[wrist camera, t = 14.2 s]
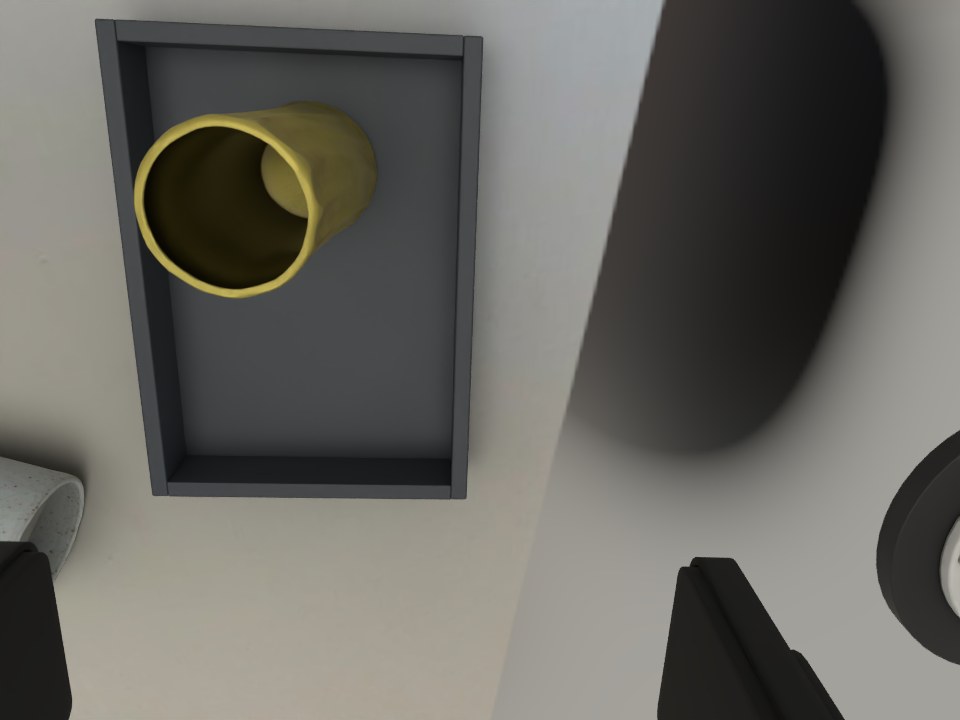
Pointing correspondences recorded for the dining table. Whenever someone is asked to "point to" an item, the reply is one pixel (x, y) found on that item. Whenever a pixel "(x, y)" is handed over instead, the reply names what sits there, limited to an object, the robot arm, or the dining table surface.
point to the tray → (310, 270)
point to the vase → (252, 194)
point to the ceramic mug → (40, 509)
